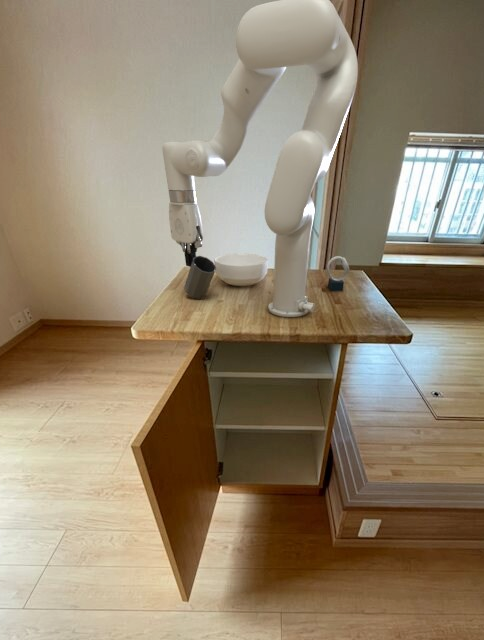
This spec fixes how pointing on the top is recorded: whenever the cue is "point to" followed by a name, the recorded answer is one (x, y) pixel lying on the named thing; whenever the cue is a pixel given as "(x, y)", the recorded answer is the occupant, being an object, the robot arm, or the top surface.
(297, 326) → the top surface
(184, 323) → the top surface
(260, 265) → the bowl
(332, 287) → the black block with loop
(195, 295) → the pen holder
